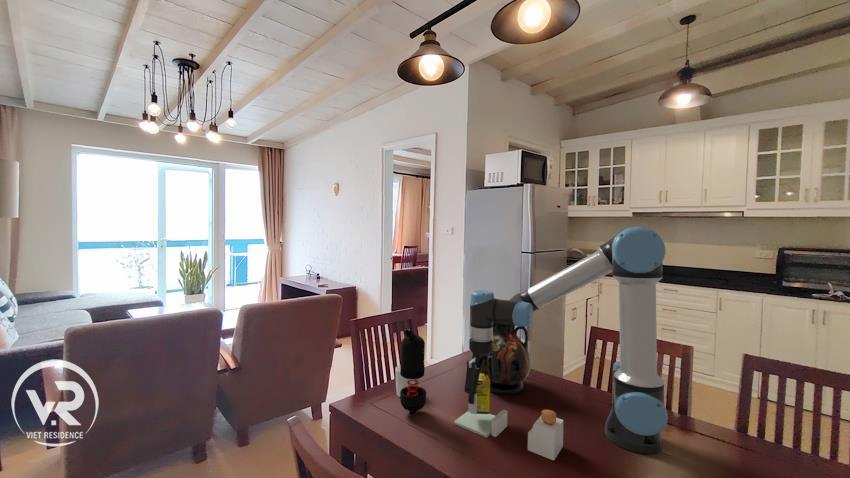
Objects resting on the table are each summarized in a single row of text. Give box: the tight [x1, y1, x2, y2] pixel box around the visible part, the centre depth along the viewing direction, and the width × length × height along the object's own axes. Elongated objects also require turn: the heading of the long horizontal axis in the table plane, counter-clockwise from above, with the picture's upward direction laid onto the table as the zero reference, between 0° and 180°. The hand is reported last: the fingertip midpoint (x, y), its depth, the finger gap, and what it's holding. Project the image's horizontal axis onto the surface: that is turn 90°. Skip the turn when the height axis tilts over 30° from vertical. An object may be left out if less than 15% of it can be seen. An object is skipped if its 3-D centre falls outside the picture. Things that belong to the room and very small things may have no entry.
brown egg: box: [540, 409, 557, 425], centre depth 103 cm, size 4×4×6 cm
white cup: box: [394, 364, 415, 398], centre depth 136 cm, size 8×8×10 cm
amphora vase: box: [476, 322, 532, 395], centre depth 144 cm, size 22×22×28 cm
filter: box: [399, 329, 427, 416], centre depth 123 cm, size 14×9×30 cm
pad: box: [453, 410, 496, 439], centre depth 116 cm, size 12×12×1 cm
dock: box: [490, 409, 564, 461], centre depth 107 cm, size 19×8×8 cm, turn 52°
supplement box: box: [471, 374, 491, 414], centre depth 116 cm, size 6×6×11 cm
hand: (479, 407), depth 116 cm, fingers closed on supplement box, 8 cm apart
